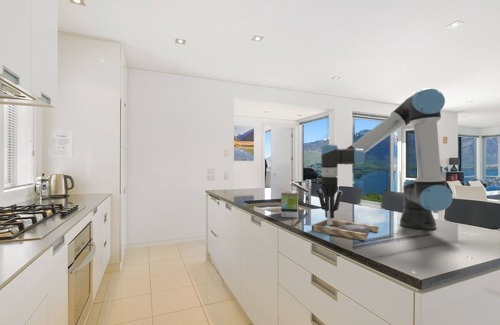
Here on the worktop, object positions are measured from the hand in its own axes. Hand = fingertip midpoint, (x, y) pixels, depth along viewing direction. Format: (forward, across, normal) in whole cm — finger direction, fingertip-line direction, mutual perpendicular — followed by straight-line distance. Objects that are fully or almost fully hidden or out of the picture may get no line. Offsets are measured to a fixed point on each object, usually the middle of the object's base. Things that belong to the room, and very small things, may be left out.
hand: (329, 224), depth 122 cm
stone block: (+2, +11, 0) cm, 11 cm away
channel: (+2, +8, 0) cm, 8 cm away
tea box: (+2, -32, +15) cm, 36 cm away
